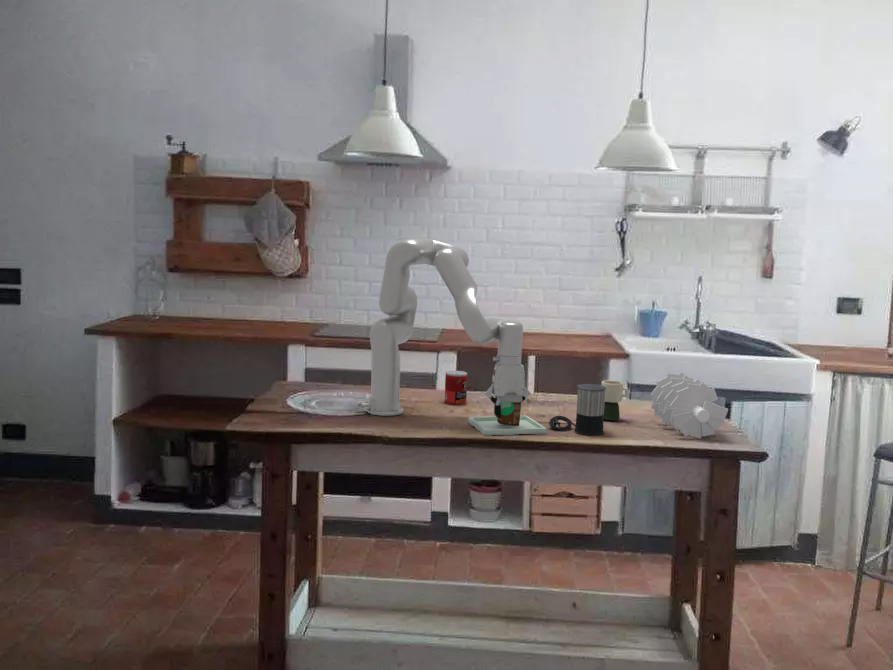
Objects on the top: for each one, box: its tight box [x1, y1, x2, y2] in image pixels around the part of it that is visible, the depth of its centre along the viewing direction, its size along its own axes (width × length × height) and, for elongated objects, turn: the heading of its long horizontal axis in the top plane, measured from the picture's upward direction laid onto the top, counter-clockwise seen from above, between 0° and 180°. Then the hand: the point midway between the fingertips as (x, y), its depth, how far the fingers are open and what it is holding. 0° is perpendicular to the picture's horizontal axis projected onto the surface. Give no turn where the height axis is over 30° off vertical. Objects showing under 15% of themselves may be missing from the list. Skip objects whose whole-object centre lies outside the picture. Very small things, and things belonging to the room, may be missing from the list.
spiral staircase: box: [650, 371, 729, 439], centre depth 302 cm, size 18×18×25 cm
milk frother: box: [548, 383, 606, 436], centre depth 298 cm, size 14×16×15 cm
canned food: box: [444, 370, 468, 406], centre depth 334 cm, size 8×8×11 cm
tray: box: [468, 415, 547, 437], centre depth 299 cm, size 20×18×2 cm
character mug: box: [601, 379, 629, 421], centre depth 315 cm, size 11×7×13 cm, turn 94°
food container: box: [496, 394, 523, 426], centre depth 298 cm, size 12×6×10 cm, turn 20°
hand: (506, 416), depth 298 cm, fingers closed on food container, 5 cm apart
